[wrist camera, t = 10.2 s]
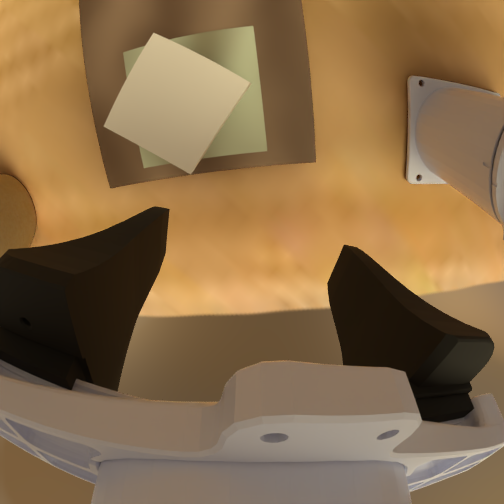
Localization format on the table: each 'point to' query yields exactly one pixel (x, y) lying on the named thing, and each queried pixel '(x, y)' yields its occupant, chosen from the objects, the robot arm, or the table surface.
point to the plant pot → (15, 215)
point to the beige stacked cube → (175, 102)
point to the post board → (221, 52)
